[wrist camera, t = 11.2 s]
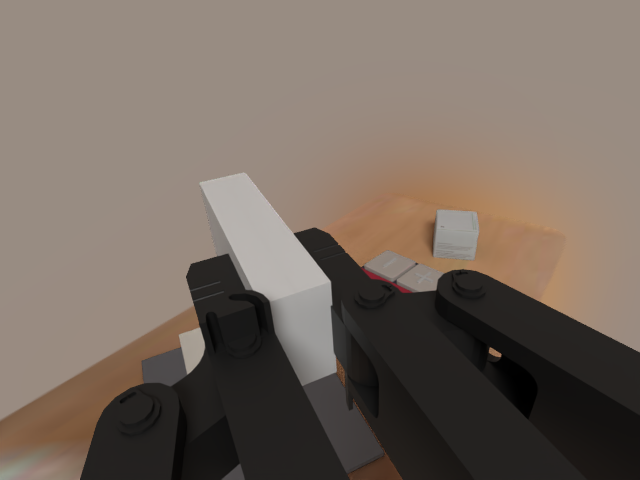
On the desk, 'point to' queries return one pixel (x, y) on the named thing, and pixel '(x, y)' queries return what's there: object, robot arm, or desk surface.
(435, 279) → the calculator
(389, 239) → the desk surface
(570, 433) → the robot arm
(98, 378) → the desk surface
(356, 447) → the tile mat
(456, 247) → the small box
